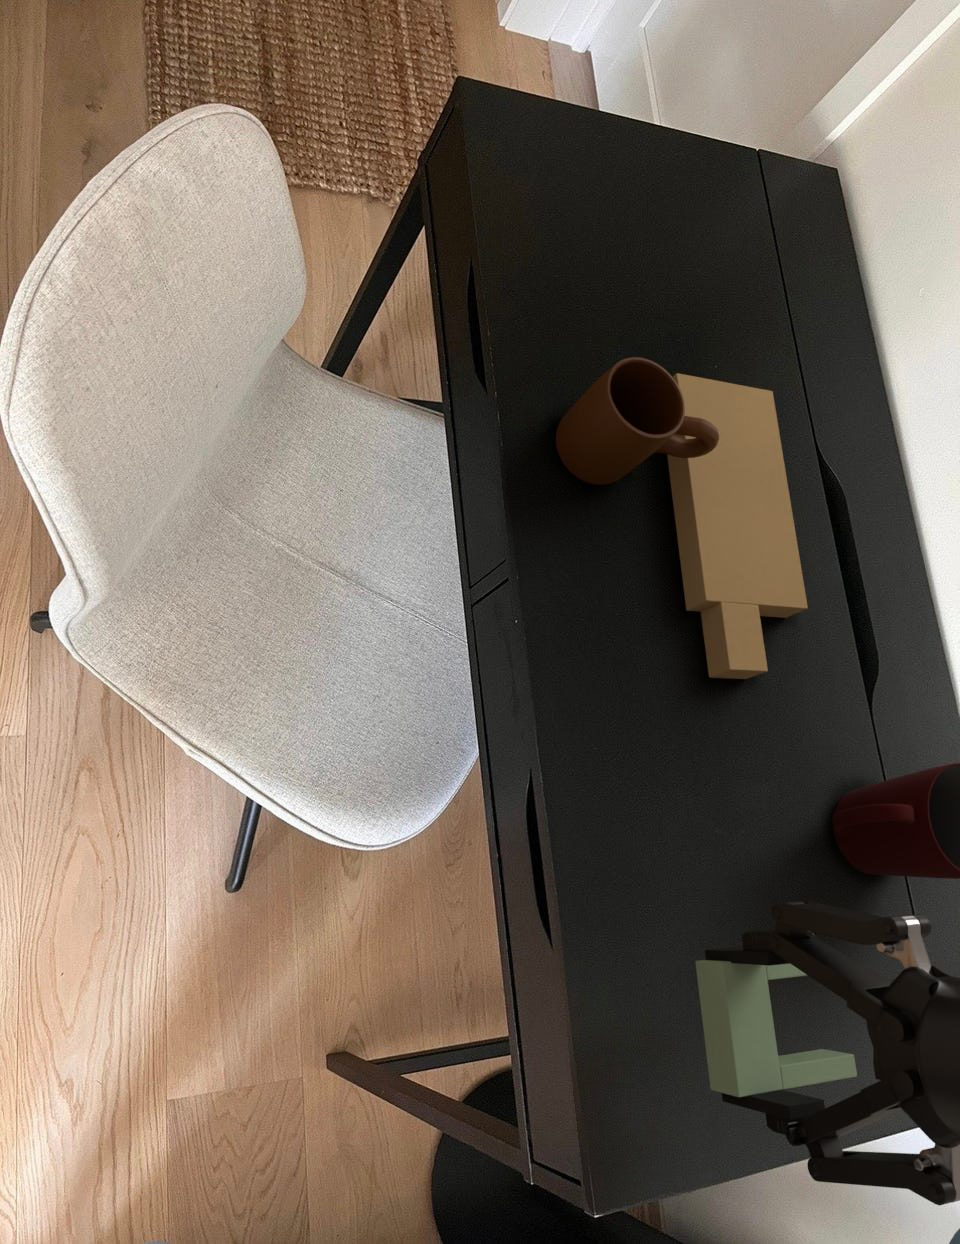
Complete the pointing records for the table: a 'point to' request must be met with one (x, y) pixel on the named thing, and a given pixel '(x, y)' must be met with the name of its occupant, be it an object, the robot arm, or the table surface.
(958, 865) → the mug
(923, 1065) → the robot arm
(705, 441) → the mug
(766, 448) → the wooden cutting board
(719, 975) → the green block
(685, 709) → the table surface
